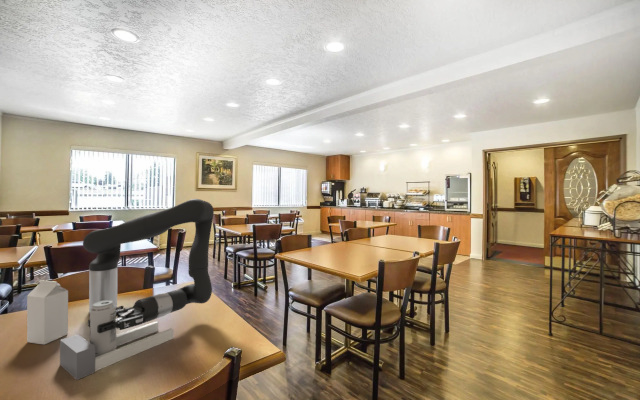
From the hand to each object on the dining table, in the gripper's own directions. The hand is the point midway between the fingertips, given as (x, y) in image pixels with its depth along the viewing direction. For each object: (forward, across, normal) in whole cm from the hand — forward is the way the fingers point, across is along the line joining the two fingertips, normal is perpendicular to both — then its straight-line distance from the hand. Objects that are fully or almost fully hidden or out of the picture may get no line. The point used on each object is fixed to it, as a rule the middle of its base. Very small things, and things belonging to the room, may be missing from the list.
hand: (93, 326), depth 82 cm
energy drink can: (-2, 0, +9) cm, 10 cm away
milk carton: (+3, -28, +10) cm, 30 cm away
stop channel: (-7, 0, +10) cm, 13 cm away
